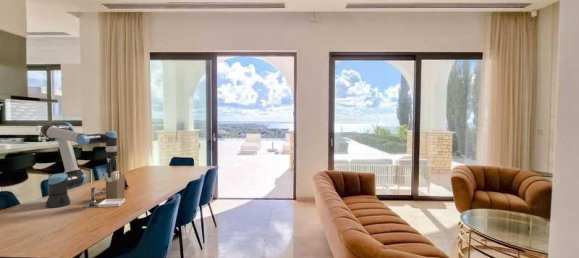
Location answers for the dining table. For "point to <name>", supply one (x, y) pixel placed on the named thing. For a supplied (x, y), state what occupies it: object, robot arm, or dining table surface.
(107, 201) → the tray
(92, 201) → the grey lever faucet
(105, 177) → the collar
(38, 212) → the dining table surface
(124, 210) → the dining table surface
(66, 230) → the dining table surface
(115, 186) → the wooden block
